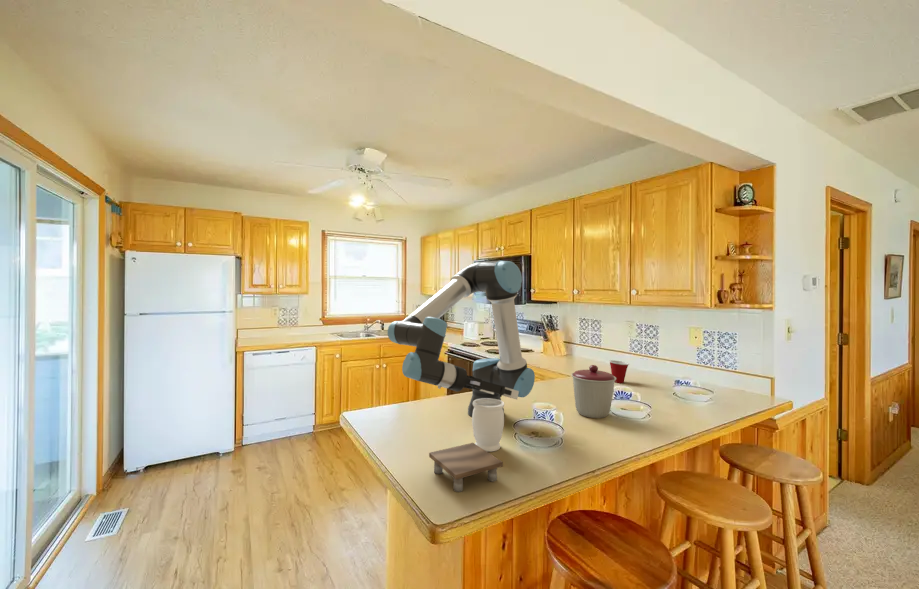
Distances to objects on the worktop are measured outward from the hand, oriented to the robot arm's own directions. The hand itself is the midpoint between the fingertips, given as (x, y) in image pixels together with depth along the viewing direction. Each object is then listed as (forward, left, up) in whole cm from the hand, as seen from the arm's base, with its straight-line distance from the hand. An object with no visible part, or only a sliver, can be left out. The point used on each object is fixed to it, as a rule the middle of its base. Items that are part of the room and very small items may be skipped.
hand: (505, 392), depth 128 cm
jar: (-2, -5, -18) cm, 19 cm away
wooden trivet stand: (+11, -22, -18) cm, 31 cm away
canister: (-8, +54, -18) cm, 57 cm away
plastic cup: (-40, +115, -18) cm, 123 cm away
